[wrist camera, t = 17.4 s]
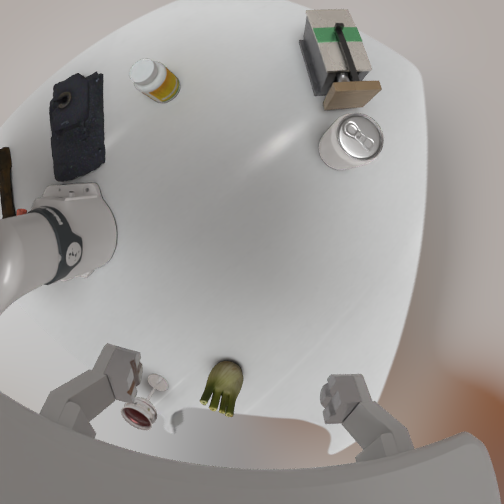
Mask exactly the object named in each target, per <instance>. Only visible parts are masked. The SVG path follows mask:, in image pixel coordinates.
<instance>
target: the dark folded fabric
mask: <svg viewBox="0 0 504 504" xmlns="http://www.w3.org/2000/svg"><path fill="white" fill-rule="evenodd" d="M53 90H54V92H53V97H54V98H53V99H52V100H51V101H50V108H49V111H50V112H49V114H50V125H51V131H52V137H51V148H52V157H53V164H54V165H53V168H54V175H55V179H56V180H57V181H61V182H63V181H66V180H70V179H74V178H76V177H77V176H82V175H85V174H87V173H89V172H90V171H93V170H96V169H97V168H98V167H100V165H101V164H102V163H104V162H105V145H104V139H105V138H104V112H103V108H104V107H103V74H98V73H97V71H96V72H95V73H93V74H92V75H90V76H88V77H86V78H84V76H82V75H81V74H79V73H77V74H75V75H72V76H71V77H69V78H68V79H66V80H65V81H62V82H59V83H58V84H55V85H54V87H53Z"/></svg>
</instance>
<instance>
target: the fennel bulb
mask: <svg viewBox="0 0 504 504" xmlns="http://www.w3.org/2000/svg"><path fill="white" fill-rule="evenodd" d="M242 384H243V375H242V370H241V368H240V367H239V366H238V365H237V364H235V363H233V362H231V361H222V362H219V363H218V364H217V365H215V366H214V368H213V369H212V370H211V372H210V374H209V377H208V380H207V384H206V387H205V390H204V393H203V395H202V397H201V399H200V402H201V403H202V404H203V405H206V404H207V402H208V400H209V399H210V397H211V395H212V393H213V395H212V399H211V403H210V406H209V409H210V410H212V411H216V410H217V408H218V405H219V400H220V397H221V395H222V398H221V403H220V409H219V412H220V413H225V411H226V413H225V416H228V417H232V416H233V415H234V407H235V401H236V398H237V396H238V394H239V392H240V390H241V387H242Z"/></svg>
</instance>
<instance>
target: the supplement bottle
mask: <svg viewBox="0 0 504 504" xmlns="http://www.w3.org/2000/svg"><path fill="white" fill-rule="evenodd" d="M129 76H130V79H131V80H132V81H133V82H134V85H135V87H136V89H137V90H138V91H140V92H142V93H143V94H145V95H147V96H148V97H150V98H151V99H153V100H155V101H156V102H160V103H165V102H168V101H170V100H172V99H173V98H174V97H175V96H176V95H177V94H178V92H179V90H180V82H179V80H178V79H177V77H176V76H175V75H174V74H173V73H172V72H171V71H169V70H168V69H167V68H166V67H165V66H164V65H163V64H162V63H160V62H157V61H152V60H150V59H147V58H145V59H141V60H139V61H137V62H136V63H135V64H134V65H133V66H132V68H131V70H130V73H129Z"/></svg>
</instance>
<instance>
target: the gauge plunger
mask: <svg viewBox="0 0 504 504" xmlns="http://www.w3.org/2000/svg"><path fill="white" fill-rule="evenodd" d="M343 28H344V24H343V23H335V26H334V31H335V33H336V36H337V39H338V41H339V44H340V47H341V49H342V52H343V55H344V58H345V61H346V64H347V67H348V70H349V73H350V76H351V79H352V81H351V82H350V81H349V78H348V74H347V72H337V74H336V76H337V79H338V82H334V83H333V84H332V86H331V88H330V90H329V92H328V94H327V96H326V98H325V100H324V102H323V105H324V109H325V110H332V109H344V108H357V107H363V106H365V105H366V104H367V103H368V102H369V101H370V100H371V99H372V98H373V97H374V96H375V95H376V94H377V93H378V92H380V91H381V90H382V89H381V85H380V82H379V81H360V80H359V77H358V73H357V70H356V67H355V64H354V61H353V59H352V56H351V53H350V50H349V47H348V45H347V42H346V39H345V37H344V34H343V32H342V30H343Z"/></svg>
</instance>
